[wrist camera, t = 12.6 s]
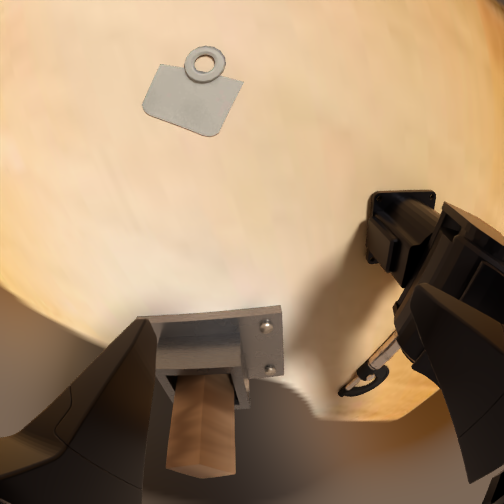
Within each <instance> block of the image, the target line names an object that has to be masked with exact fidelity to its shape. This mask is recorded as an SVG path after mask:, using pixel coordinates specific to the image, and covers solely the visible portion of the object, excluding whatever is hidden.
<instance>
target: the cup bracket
mask: <svg viewBox="0 0 504 504" xmlns="http://www.w3.org/2000/svg"><path fill="white" fill-rule="evenodd" d="M139 318H147V319H148V320H149V321H150V323H151V325H152V327H153V329H154V332H155V334H156V337H157V353H156V370H155V376H156V377H157V379H158V380H159V382H160V384H161V385H162V387H163V389H164V390H165V392H166V393H167V395H168V397H169V398H170V400H171V401H172V403H174V396H175V390H176V383H177V376H178V375H212V374H230V373H231V376H232V380H233V384H234V409H248V408H250V393H249V379H254V378H264V377H273V376H282V375H284V360H283V327H282V310H281V305H278V306H270V307H261V308H251V309H241V310H230V311H219V312H207V313H194V314H179V315H162V316H140V317H137V318H136V319H139Z"/></svg>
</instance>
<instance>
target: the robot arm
mask: <svg viewBox="0 0 504 504" xmlns="http://www.w3.org/2000/svg"><path fill="white" fill-rule="evenodd" d="M430 195H431V197H430ZM378 196H380V199H379V200H377V197H378ZM435 200H436V194H435V192H434V191H432V190H400V191H377V192H375V193H374V194H373V195H372V202H371V215H370V218H369V219H368V228H367V238H366V247H367V254H366V260H367V261H368V263H369V264H376V263H379V264H380V265H381V266H382V268H383V269H384V270H385V271H386V272H387V273H391V274H392V275H393V276H394V278H395V279H396V281H397V282H398V283H399V285H400V286H401V287H402V288H405V289H404V291H403V293H402V294H401V296H400V298H399V300H398V301H396V302H395V304H394V306H393V312H394V325H395V328H396V331H397V334H398V336H397V337H396V341H397V343H398V345H399V346H400V348H401V350H402V352H403V353H404V355H405V356H406V357H407V358H408V359H409V360H410V361H411V362H412V363H413V364H412V366H411V367H412V369H413V370H415V371H417V372H419V373H421V374H423V375H425V376H426V377H428V378H429V379H430V380H432V381H433V382H434V383H435V384H436V385H437V386H438V387H439V388H440V389H441V390H442V392H443V395H444V398H445V401H446V404H447V406H448V409H449V412H450V415H451V418H452V421H453V424H454V427H455V431H456V434H457V438H458V442H459V445H460V449H461V452H462V456H463V460H464V464H465V469H466V473H467V477H468V482H469V484H471V483H473V482H475V481H476V480H478V479H480V478H482V477H484V476H485V475H487V474H489V473H491V472H492V471H494V470H496V469H497V468H499V467H501V466H502V465H504V237H503V236H502V234H501V233H500V232H498V231H497V230H496V229H494V228H493V227H491V226H490V225H488V224H487V223H485V222H484V221H482V220H481V219H479V218H478V217H476V216H474V215H472V214H470V213H468V212H466V211H464V210H462V209H460V208H457V207H455V206H453V205H451V204H449V203H447V202H445V201H444V204H443V206H442V212H441V215H440V214H439V213H438V212H436V211H435V210H434V206H435ZM371 257H373V258H372V259H371ZM156 353H157V337H156V334H155V332H154V329H153V327H152V325H151V323H150V321H149V320H148V319H147V318H139V319H136V320H134V321H133V322H132V323H131V324H130V325H129V326H128V327H127V328H126V329H125V330H124V331H123V332H122V333H121V334H120V335H119V336H118V337H117V338H116V339H115V340H114V341H113V342H112V343H111V344H110V345H109V346H108V347H107V348H106V349H105V350H104V351H103V352H102V353H101V354H100V355H99V356H98V357H97V358H96V359H95V360H94V361H93V362H92V363H91V364H90V365H89V366H88V367H87V368H86V369H85V370H84V371H83V372H82V373H81V374H80V375H79V376H78V377H77V378H76V379H75V380H74V381H73V382H72V383H71V385H70V386H68V387H67V388H66V389H65V390H64V391H63V392H62V393H61V394H60V395H59V396H58V397H57V398H56V399H55V400H54V401H53V402H52V403H51V404H50V405H49V406H48V407H47V408H46V409H45V410H44V411H42V412H41V413H40V414H39V415H38V416H37V417H36V418H34V419H33V420H32V421H31V422H30V423H29V424H28V425H27V426H25V427H24V428H23V429H22V430H21V431H19V432H18V433H16V434H14V435H11V436H8V437H1V438H0V504H142V487H143V473H144V462H145V451H146V443H147V434H148V426H149V418H150V411H151V404H152V397H153V390H154V384H155V370H156ZM482 504H504V470H502V471H501V472H500V473H498V474H497V475H496V476H495V477H493V478H492V480H491V483H490V485H489V488H488V491H487V493H486V495H485V498H484V500H483V502H482Z"/></svg>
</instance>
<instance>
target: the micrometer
mask: <svg viewBox="0 0 504 504" xmlns="http://www.w3.org/2000/svg"><path fill="white" fill-rule="evenodd" d="M397 336H398V334H397V331H396V330H395V331H394V333H393V334H392V335H391V336H390V337H389V338H388V340H387V341H386V342H385V343H384V344H383V345H381V347H380V348H379V349H378V350H377V351H376V352H375V353H374V354H373V355H372V356H371V357H370V358H369V361H366V362H365V363H364V364H363V365H362V366H361V367H360V368H359V369H358V370H357V375H358V376H356V377H355V378H354V379H353V380H352V381H351V382H350V383H349V384H348V385H347V386H344V387H343V388H342V389H341V390H340V391H339V392H338V395H339V396H340V397H343V396H348V397H353V396H358V395H361V394H364V393H366V392H368V391H370V390H372V389H374V388H375V387H377V386H378V385H379V384H381V383H382V382H383V381H384V380H385V379H386V377H387V376H388V374H389V369H388V367H387V366H385V365H384V364H385V363H386V362H387V361H388V360H390V359H391V358H392V357H393V355H394V354H395V353H396V352H397V351H398V350H399V349H400V346H399V345H398V343H397V341H396V337H397ZM375 376H376V378H375V380H374V381H372V382H371V383H369V384H367V385H365V386H361V387H354V386H355V385H356V384H357V383H358V382H359V381H360V380H363V381H369V380H372V379H373V378H374V377H375Z"/></svg>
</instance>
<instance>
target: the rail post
mask: <svg viewBox="0 0 504 504" xmlns="http://www.w3.org/2000/svg"><path fill="white" fill-rule="evenodd" d="M234 425H235V422H234V384H233V380H232V376H231V373H230V374H212V375H178V376H177V383H176V390H175V396H174V403H173V411H172V418H171V426H170V435H169V444H168V452H167V462H166V468H167V469H171V470H174V471H177V472H180V473H183V474H187V475H190V476H194V477H197V478H211V477H219V476H225V475H232V474H236V468H235V426H234Z"/></svg>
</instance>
